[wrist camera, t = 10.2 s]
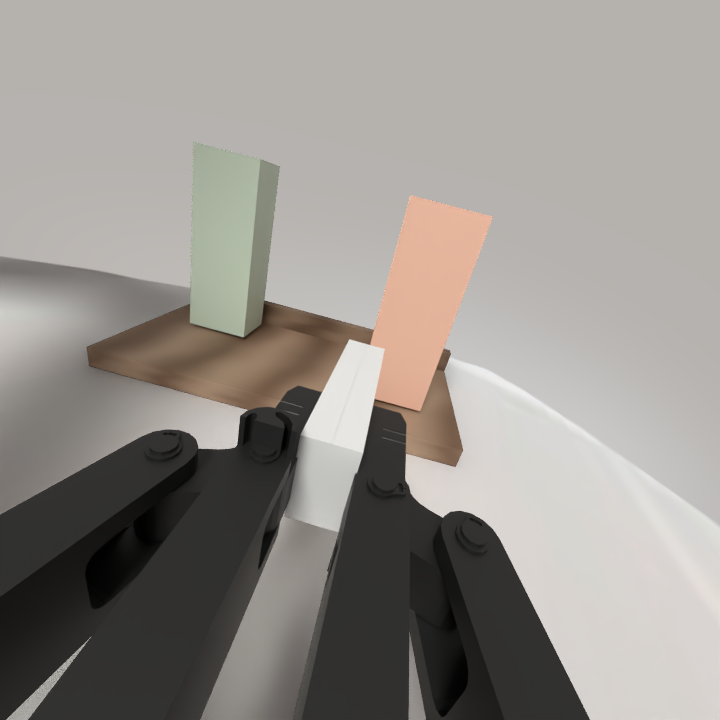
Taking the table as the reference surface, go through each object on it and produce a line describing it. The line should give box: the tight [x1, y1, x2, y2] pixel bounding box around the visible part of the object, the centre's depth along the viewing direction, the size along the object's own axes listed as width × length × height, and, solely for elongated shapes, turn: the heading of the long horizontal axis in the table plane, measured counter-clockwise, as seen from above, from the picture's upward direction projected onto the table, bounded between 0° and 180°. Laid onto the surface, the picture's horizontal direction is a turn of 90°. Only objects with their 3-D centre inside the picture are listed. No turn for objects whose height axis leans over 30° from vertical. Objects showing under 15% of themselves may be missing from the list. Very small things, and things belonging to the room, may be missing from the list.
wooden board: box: [87, 301, 463, 466], centre depth 30 cm, size 27×15×4 cm, turn 83°
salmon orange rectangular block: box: [370, 196, 493, 411], centre depth 24 cm, size 5×4×14 cm
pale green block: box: [190, 142, 279, 337], centre depth 29 cm, size 5×4×14 cm
